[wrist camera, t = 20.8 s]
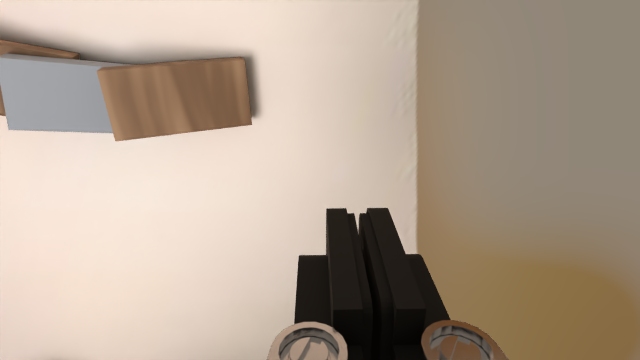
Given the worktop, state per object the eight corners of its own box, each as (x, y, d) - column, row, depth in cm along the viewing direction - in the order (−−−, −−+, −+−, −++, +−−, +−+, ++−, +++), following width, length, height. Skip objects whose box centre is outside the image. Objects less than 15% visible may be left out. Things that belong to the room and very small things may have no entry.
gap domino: (158, 71, 29) (-5, 57, 25) (160, 134, 31) (8, 129, 27) (159, 67, 31) (6, 53, 27) (160, 127, 33) (18, 121, 29)
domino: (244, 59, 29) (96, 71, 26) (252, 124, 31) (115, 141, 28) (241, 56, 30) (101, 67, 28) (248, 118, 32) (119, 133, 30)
